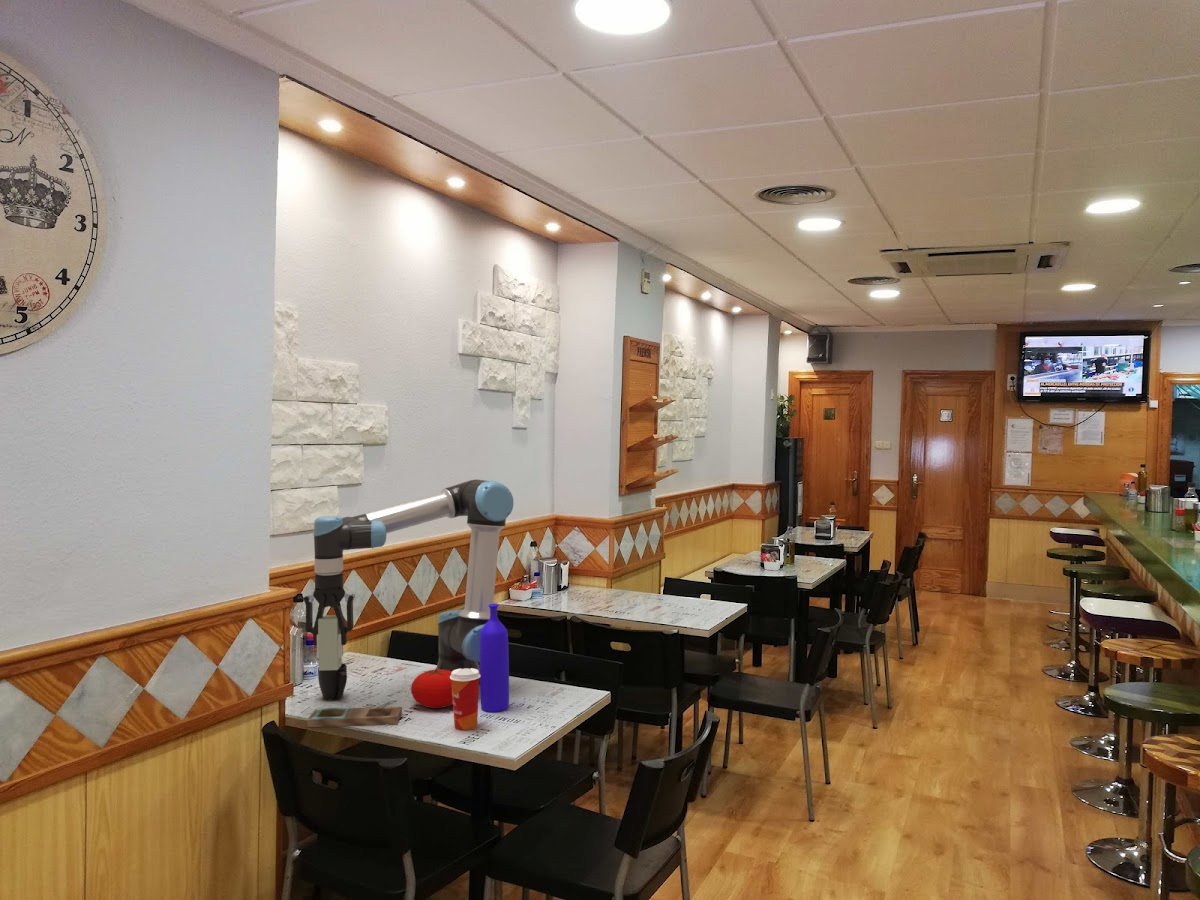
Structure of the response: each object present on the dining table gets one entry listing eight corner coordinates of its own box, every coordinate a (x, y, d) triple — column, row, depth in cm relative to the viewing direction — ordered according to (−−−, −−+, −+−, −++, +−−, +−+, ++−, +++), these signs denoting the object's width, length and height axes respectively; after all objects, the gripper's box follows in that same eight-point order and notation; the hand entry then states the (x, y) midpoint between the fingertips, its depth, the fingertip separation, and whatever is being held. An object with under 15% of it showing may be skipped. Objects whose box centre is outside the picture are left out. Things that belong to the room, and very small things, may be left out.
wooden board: (402, 713, 251) (401, 705, 251) (396, 724, 242) (396, 716, 242) (315, 716, 249) (315, 708, 249) (307, 727, 240) (307, 718, 240)
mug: (331, 706, 257) (330, 674, 257) (314, 697, 267) (313, 666, 266) (357, 700, 263) (357, 669, 263) (339, 692, 272) (339, 661, 272)
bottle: (486, 714, 249) (484, 608, 248) (476, 706, 257) (474, 603, 256) (513, 709, 253) (512, 605, 252) (503, 701, 260) (501, 600, 260)
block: (341, 665, 247) (340, 615, 247) (337, 670, 242) (336, 619, 242) (323, 665, 247) (322, 615, 246) (318, 670, 242) (318, 619, 241)
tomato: (467, 700, 263) (467, 665, 262) (451, 714, 250) (451, 677, 250) (422, 697, 265) (422, 663, 265) (404, 711, 253) (404, 675, 253)
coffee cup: (451, 722, 243) (450, 667, 243) (481, 720, 244) (481, 666, 244) (449, 732, 235) (448, 676, 234) (480, 731, 236) (479, 675, 235)
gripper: (365, 570, 248) (366, 652, 249) (299, 571, 247) (300, 654, 248) (359, 574, 241) (360, 659, 241) (291, 575, 239) (293, 661, 240)
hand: (330, 656), depth 244 cm, fingers closed on block, 5 cm apart
